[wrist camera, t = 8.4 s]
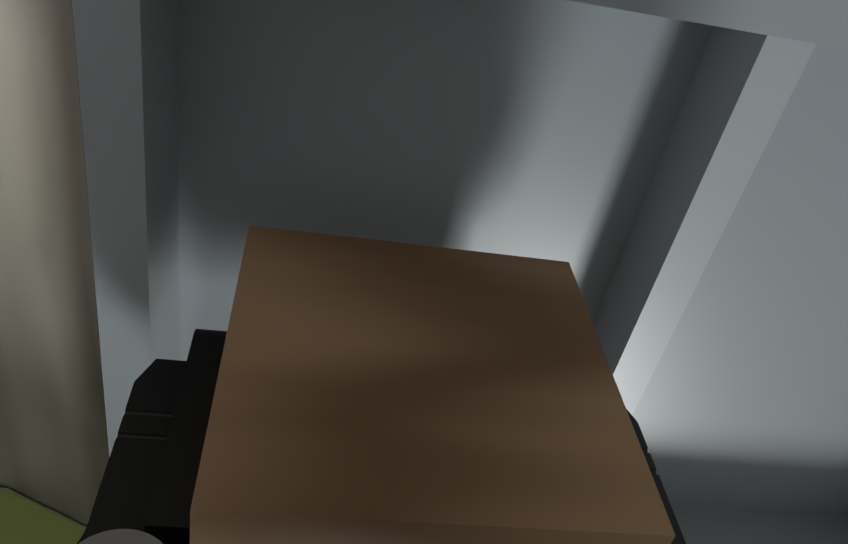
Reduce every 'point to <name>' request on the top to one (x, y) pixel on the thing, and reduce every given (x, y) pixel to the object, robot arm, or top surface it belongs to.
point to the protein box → (34, 522)
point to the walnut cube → (415, 404)
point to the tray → (513, 197)
